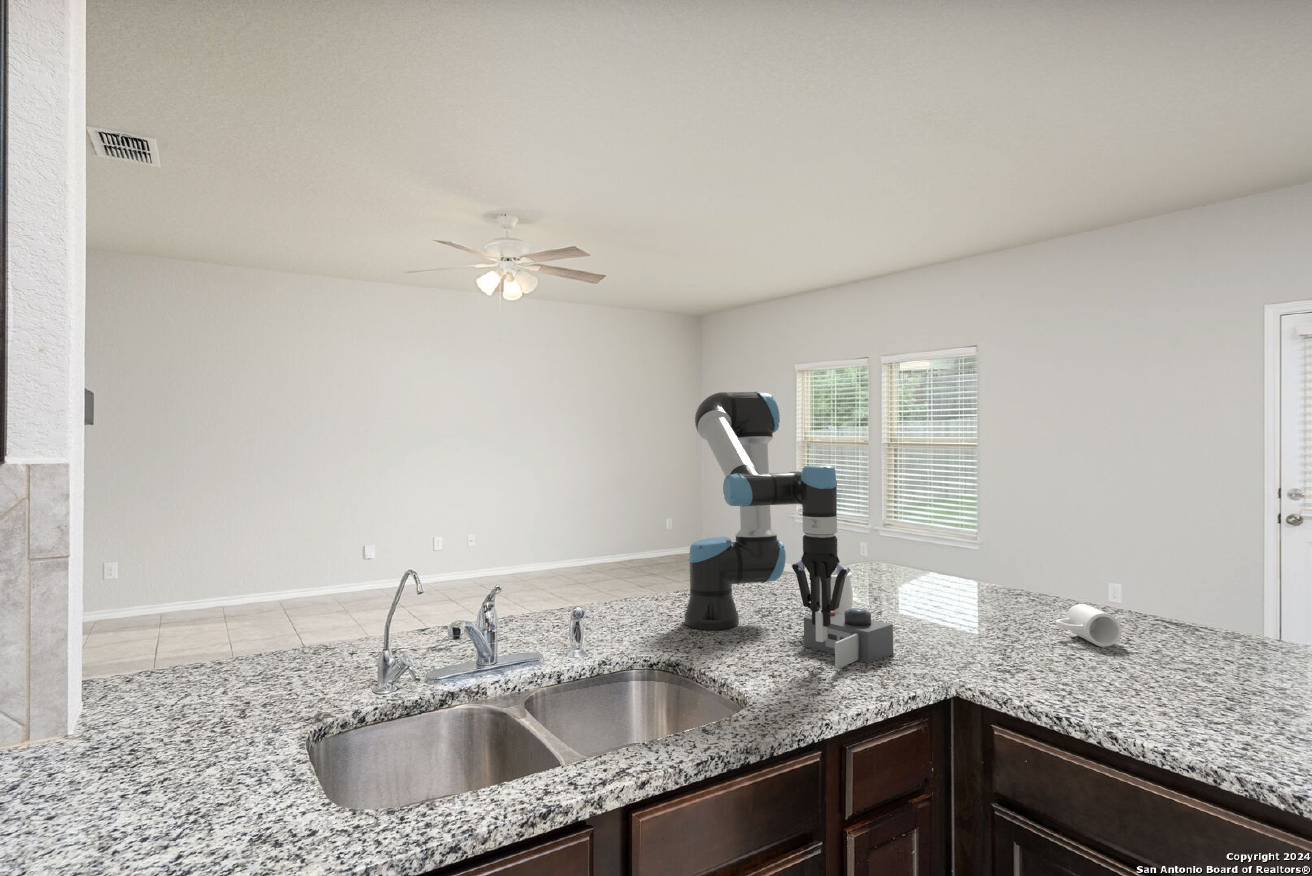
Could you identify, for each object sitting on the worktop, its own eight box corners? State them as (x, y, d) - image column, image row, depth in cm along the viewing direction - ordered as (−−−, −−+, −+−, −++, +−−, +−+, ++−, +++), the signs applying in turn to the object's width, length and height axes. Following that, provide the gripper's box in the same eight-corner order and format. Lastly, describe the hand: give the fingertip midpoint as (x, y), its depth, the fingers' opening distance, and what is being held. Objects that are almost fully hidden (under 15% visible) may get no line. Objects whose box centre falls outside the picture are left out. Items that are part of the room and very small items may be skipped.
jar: (858, 633, 174) (856, 575, 174) (818, 634, 174) (816, 576, 174) (847, 623, 184) (846, 568, 185) (809, 623, 185) (808, 568, 185)
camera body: (803, 646, 164) (802, 605, 164) (829, 638, 170) (828, 598, 170) (868, 663, 150) (867, 618, 150) (893, 654, 156) (892, 611, 156)
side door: (838, 669, 144) (837, 643, 145) (834, 668, 145) (834, 642, 145) (860, 658, 151) (859, 633, 151) (856, 657, 152) (855, 633, 152)
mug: (1099, 635, 168) (1098, 603, 169) (1122, 647, 158) (1121, 613, 159) (1048, 635, 170) (1047, 603, 170) (1069, 646, 160) (1068, 613, 160)
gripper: (785, 534, 151) (787, 639, 151) (842, 538, 143) (843, 649, 143) (799, 530, 157) (801, 631, 157) (854, 534, 149) (855, 640, 149)
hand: (821, 639), depth 150 cm, fingers closed
